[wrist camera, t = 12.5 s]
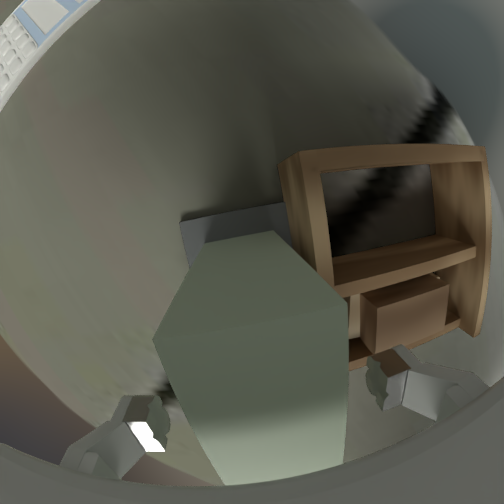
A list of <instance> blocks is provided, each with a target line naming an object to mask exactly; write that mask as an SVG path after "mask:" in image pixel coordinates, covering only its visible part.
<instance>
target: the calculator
mask: <svg viewBox="0 0 504 504" xmlns="http://www.w3.org/2000/svg"><path fill="white" fill-rule="evenodd" d="M100 1H101V0H24V1H23V2H22V3H21V4H20V5H19V6H18V7H17V8H16V9H15V10H14V11H13V12H12V14H11V15H10V16H9V17H8V18H7V19H6V20H5V22H4V23H3V24H2V25H1V26H0V112H1V110H2V109H3V107H4V105H5V104H6V102H7V101H8V99H9V98H10V96H11V95H12V94H13V92H14V91H15V89H16V88H17V87H18V85H19V84H20V83H21V81H22V80H23V79H24V77H25V76H26V75H27V73H28V72H29V71H30V70H31V68H32V67H33V66H34V65H35V64H36V62H37V61H38V60H39V59H40V58H41V57H42V55H43V54H44V53H45V52H46V51H47V50H48V49H49V48H50V47H51V46H52V45H53V43H54V42H55V41H56V40H57V39H58V38H59V37H60V36H61V35H62V34H63V33H64V32H65V31H66V30H67V29H69V28H70V27H71V26H72V25H73V24H74V23H75V22H76V21H77V20H78V19H79V18H81V17H82V16H83V15H84V14H85V13H86V12H88V11H89V10H90V9H91V8H92V7H94V6H95V5H96V4H97V3H98V2H100Z"/></svg>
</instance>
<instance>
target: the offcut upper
mask: <svg viewBox="0 0 504 504" xmlns="http://www.w3.org/2000/svg"><path fill="white" fill-rule="evenodd" d="M449 285H450V284H448V283H446V282H444V281H442V280H440V279H438V278H436V277H434V276H432V275H430V274H427V275H423V276H420V277H417V278H413V279H410V280H406V281H403V282H400V283H396V284H392V285H389V286H385V287H382V288H378V289H375V290H371V291H367V292H364V293H360V339H361V340H362V341H363V343H364V344H365V345H366V346H367V347H368V349H369V350H370V351H371V352H372V354H376V353H379V352H382V351H385V350H387V349H390V348H392V347H394V346H397V345H399V344H402V345H404V346H406V345H409V344H411V343H414V342H416V341H418V340H421V339H423V338H426V337H428V336H430V335H433V334H435V333H437V332H439V331H442V330H444V326H445V320H446V313H447V305H448V296H449Z"/></svg>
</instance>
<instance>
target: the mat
mask: <svg viewBox="0 0 504 504" xmlns="http://www.w3.org/2000/svg"><path fill="white" fill-rule="evenodd" d="M179 224H180V228H181V233H182V238H183V242H184V246H185V251H186V255H187V259H188V264H189V268H191V266H192V264H193V263H194V261H195V259H196V257H197V255H198V254H199V252H200V250H201V248H202V247H203V245H204V243H209V242H214V241H219V240H224V239H230V238H235V237H240V236H245V235H250V234H256V233H261V232H266V231H272V230H273V231H275V232H276V233H277V234H278V235H279V236H280V237H281V238H282V239H283V240H284V241H285V242H286V243H287V244H288V245H289V246H290V247H291V248H292V249H293V247H292V241H291V234H290V228H289V222H288V215H287V209H286V203H285V202H280V203H274V204H269V205H263V206H257V207H252V208H246V209H241V210H236V211H231V212H225V213H220V214H215V215H210V216H205V217H201V218H196V219H191V220H186V221H182V222H179Z"/></svg>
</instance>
